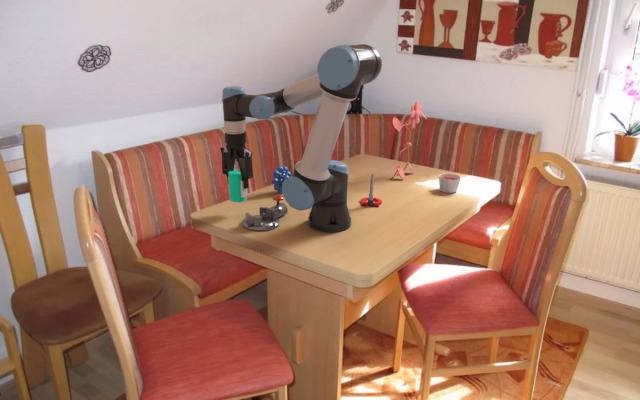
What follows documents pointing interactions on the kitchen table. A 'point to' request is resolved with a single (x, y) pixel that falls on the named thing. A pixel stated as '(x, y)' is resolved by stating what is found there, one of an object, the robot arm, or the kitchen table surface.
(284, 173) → the grapes
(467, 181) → the kitchen table surface
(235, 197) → the candle
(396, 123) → the figurine
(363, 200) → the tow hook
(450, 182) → the candle
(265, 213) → the fitting
